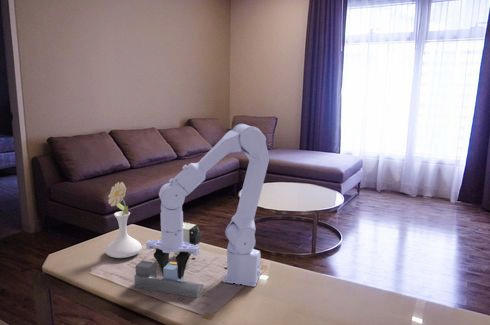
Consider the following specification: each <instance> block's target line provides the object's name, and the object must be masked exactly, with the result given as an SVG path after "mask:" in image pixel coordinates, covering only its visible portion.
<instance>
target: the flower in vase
mask: <svg viewBox="0 0 490 325" xmlns="http://www.w3.org/2000/svg"><path fill="white" fill-rule="evenodd" d="M126 191H127V187H126V185H125V183H124V182H123V181H121V182H119V181H118V182H117V183H115V184H114V185H113V186H111V190H110V193H109V194H108V200H107V201H108V204H109V205H110V206H111V207H115V206H116V208H118V209H119V210H121V211H116V212H114V213H113V215H114V216H113V217H115V218H116V220H117V223H118V228H119V230H118V232H119V233H118V236H117V237H116V238H115V239H113V240H112V241H111V242H110V243H109V244H108V245H107V246H106V248H105V251H104V252H105V254H106V255H107V256H108V257H109V258H110V257H111V258H115V259H123V258H129V257H133V256H135V255H137V254H139V253H140V252H141V250H142V248H143V246H142V244H141V242H140V241H139V240H138V239H135V238H133V237H132V236H130V235H129V234H128V230H127V224H128V219H129V216H130V214H131V212H130V211H129V206H128V205H126V201H125V199H124V198H125V196H126V193H127V192H126ZM121 202H123V204H121Z"/></svg>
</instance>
